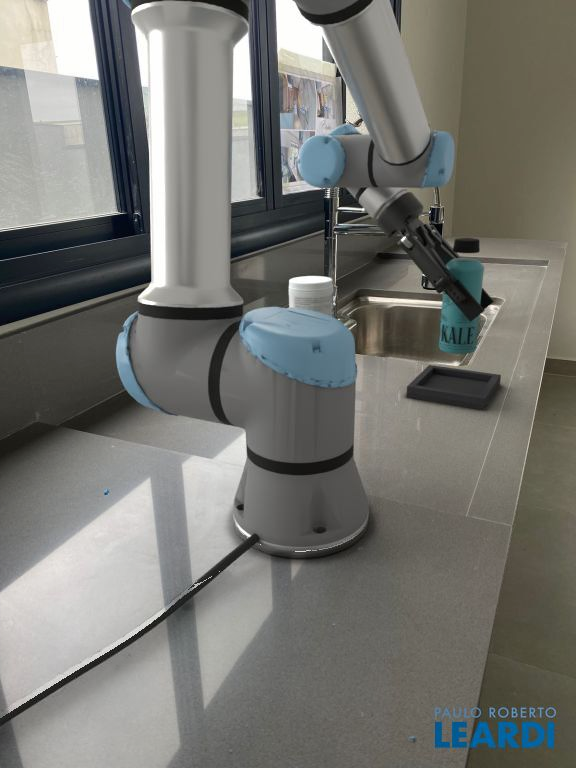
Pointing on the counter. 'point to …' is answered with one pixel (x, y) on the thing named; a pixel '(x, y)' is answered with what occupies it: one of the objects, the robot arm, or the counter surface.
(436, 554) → the counter surface
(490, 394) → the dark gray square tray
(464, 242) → the beverage bottle
